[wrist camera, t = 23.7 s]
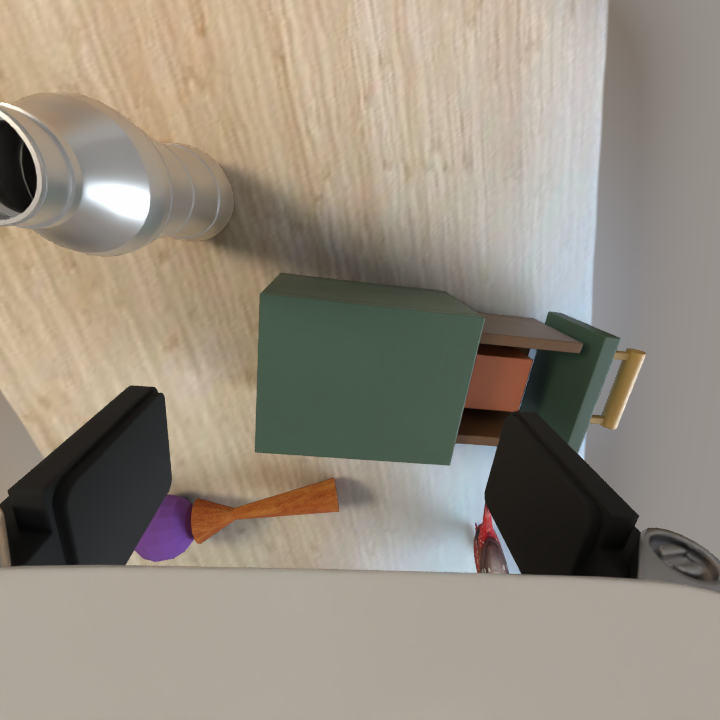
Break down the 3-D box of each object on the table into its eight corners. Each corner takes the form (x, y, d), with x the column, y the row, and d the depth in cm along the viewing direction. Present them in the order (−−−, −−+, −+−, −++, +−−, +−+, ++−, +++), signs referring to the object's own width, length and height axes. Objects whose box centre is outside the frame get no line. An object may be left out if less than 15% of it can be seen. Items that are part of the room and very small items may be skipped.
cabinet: (445, 291, 34) (485, 317, 25) (422, 407, 38) (450, 465, 29) (280, 272, 33) (259, 293, 24) (274, 395, 37) (254, 452, 28)
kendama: (343, 538, 38) (135, 580, 36) (336, 490, 43) (154, 525, 41) (335, 498, 35) (108, 542, 33) (330, 452, 40) (132, 488, 38)
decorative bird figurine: (471, 581, 47) (505, 671, 37) (452, 463, 41) (487, 537, 31) (494, 575, 47) (534, 665, 37) (478, 457, 40) (522, 529, 31)
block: (458, 336, 33) (476, 354, 29) (508, 342, 34) (533, 360, 30) (448, 384, 35) (463, 407, 31) (495, 388, 36) (517, 412, 31)
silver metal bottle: (176, 129, 28) (-126, -38, 10) (256, 186, 30) (129, 136, 11) (139, 206, 30) (-179, 186, 11) (217, 256, 32) (50, 311, 13)
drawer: (614, 318, 35) (688, 345, 28) (579, 418, 38) (636, 465, 31) (414, 296, 33) (437, 318, 26) (396, 403, 37) (411, 449, 29)
